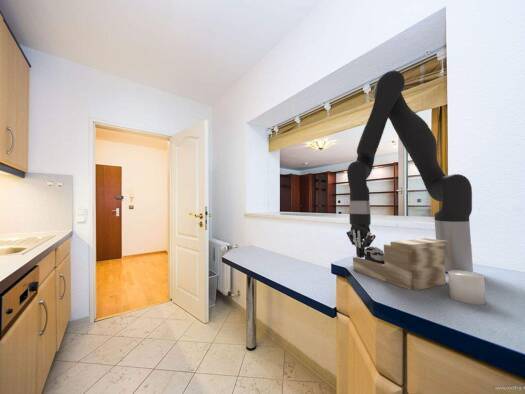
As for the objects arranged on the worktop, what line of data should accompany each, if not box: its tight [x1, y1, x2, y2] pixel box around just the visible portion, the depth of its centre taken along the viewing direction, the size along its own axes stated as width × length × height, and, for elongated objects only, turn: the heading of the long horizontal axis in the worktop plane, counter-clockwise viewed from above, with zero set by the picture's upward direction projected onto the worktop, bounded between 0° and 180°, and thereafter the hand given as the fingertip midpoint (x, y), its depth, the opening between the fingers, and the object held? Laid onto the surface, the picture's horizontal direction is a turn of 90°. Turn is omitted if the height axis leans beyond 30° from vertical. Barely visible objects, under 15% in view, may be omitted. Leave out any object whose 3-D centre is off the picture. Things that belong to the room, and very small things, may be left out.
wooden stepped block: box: [352, 237, 448, 291], centre depth 71 cm, size 16×22×12 cm
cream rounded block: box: [447, 270, 487, 306], centre depth 53 cm, size 6×6×6 cm
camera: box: [364, 246, 385, 265], centre depth 76 cm, size 13×8×9 cm, turn 178°
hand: (360, 257), depth 85 cm, fingers closed
